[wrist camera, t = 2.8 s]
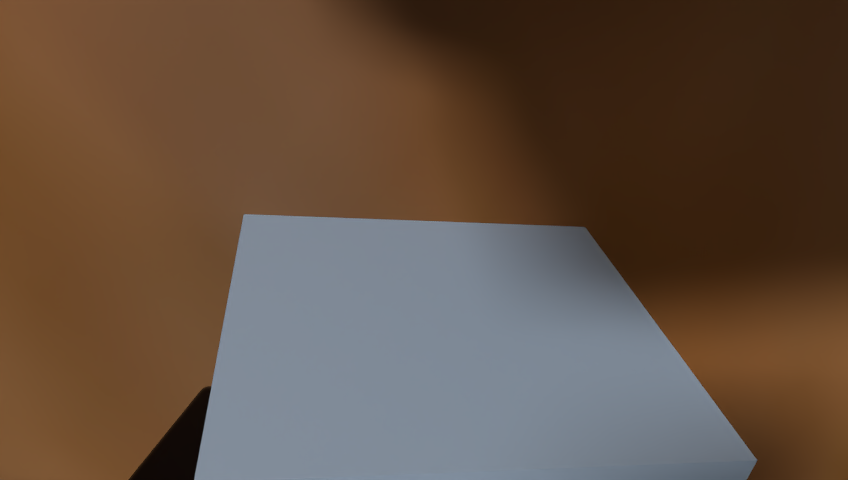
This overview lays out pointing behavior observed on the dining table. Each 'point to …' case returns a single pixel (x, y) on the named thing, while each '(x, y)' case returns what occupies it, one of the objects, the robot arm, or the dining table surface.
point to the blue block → (448, 361)
